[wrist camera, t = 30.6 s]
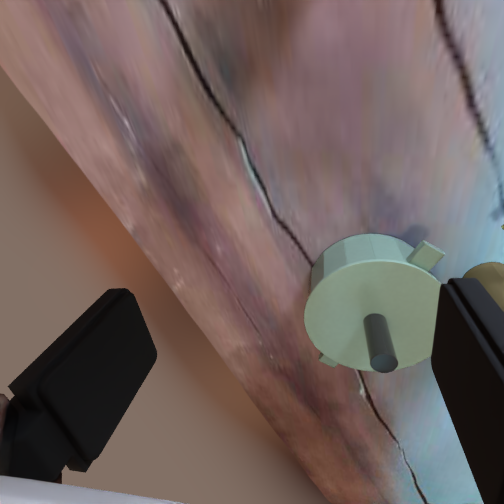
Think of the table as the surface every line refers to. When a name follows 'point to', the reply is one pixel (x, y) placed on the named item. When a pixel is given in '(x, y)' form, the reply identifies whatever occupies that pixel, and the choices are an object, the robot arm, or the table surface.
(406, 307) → the lid
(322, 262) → the pot
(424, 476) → the table surface
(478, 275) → the cork
